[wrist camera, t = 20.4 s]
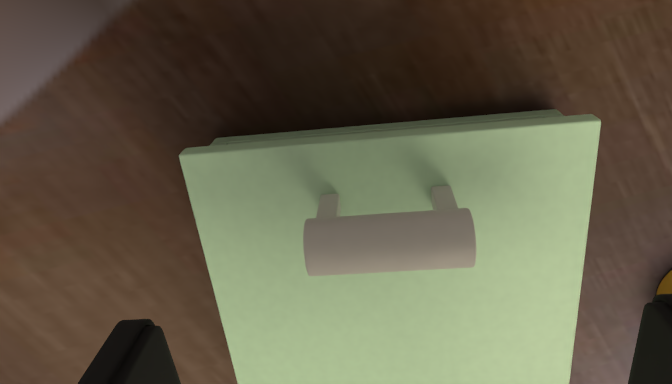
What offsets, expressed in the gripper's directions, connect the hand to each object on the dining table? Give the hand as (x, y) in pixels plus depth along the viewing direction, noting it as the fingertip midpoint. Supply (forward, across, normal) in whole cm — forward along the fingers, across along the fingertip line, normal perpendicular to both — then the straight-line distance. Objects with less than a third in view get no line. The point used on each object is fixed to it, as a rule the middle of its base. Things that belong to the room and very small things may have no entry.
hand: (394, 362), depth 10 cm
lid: (+9, 0, +7) cm, 12 cm away
